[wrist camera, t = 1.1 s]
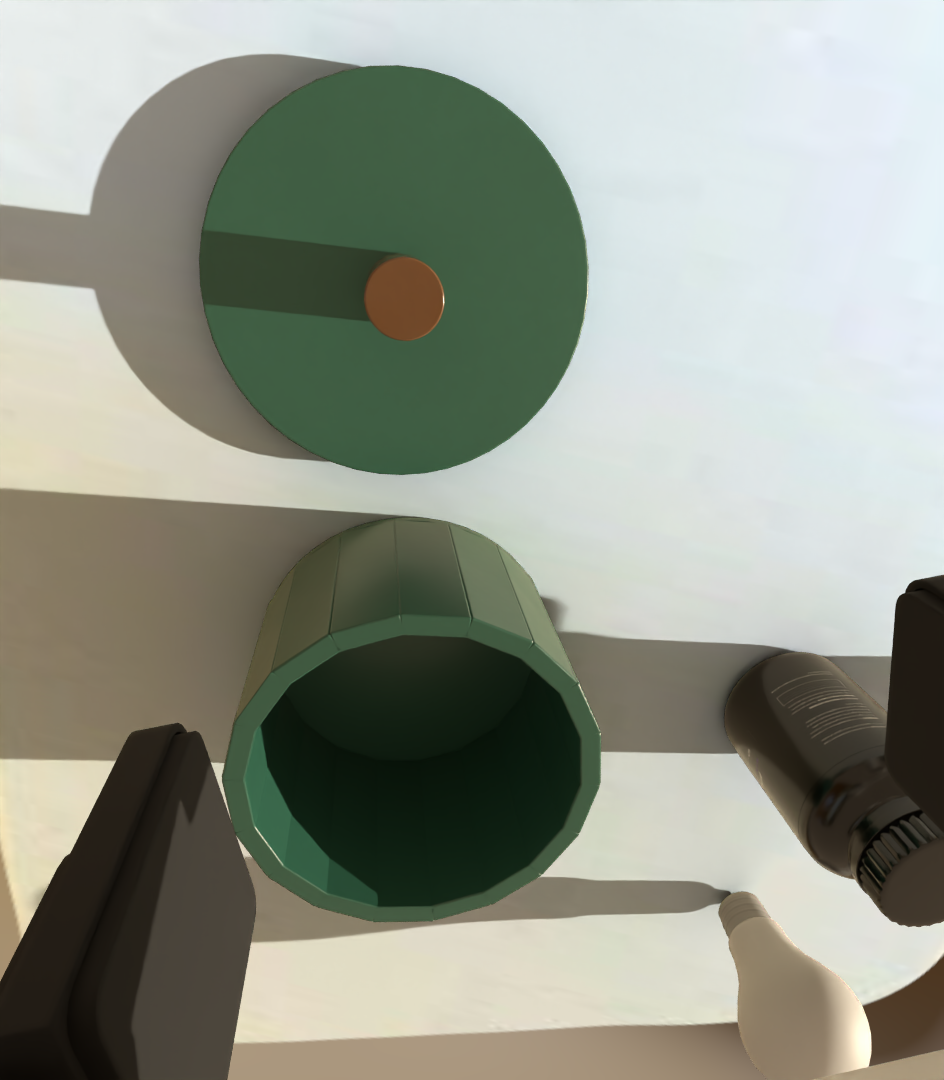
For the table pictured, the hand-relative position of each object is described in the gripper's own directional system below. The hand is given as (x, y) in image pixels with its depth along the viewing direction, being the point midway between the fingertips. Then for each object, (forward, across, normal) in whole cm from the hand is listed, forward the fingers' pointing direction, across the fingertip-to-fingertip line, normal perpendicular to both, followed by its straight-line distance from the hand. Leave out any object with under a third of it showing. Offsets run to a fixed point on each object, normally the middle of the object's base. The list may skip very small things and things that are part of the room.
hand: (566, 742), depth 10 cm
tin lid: (+23, +1, -5) cm, 23 cm away
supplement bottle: (+24, -16, +19) cm, 34 cm away
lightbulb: (+24, -13, +32) cm, 42 cm away
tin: (+24, +3, +12) cm, 27 cm away
